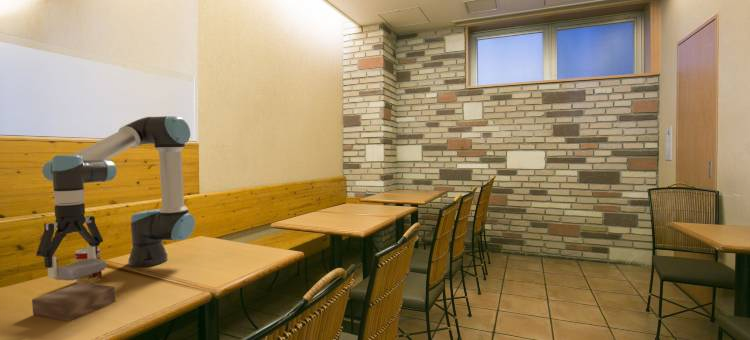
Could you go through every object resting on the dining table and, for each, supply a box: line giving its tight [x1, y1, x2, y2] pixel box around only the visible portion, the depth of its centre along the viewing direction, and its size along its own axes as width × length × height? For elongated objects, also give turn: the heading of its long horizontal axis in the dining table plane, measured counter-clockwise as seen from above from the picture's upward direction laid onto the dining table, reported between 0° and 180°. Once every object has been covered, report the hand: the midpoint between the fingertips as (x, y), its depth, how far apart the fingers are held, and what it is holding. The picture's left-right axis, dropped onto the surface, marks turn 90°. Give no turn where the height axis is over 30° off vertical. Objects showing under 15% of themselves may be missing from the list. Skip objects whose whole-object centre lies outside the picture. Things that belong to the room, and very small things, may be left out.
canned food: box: [74, 247, 103, 284], centre depth 148 cm, size 8×8×12 cm
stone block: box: [53, 259, 107, 281], centre depth 121 cm, size 12×5×10 cm
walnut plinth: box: [31, 283, 116, 322], centre depth 123 cm, size 15×15×5 cm
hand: (73, 271), depth 122 cm, fingers closed on stone block, 11 cm apart
